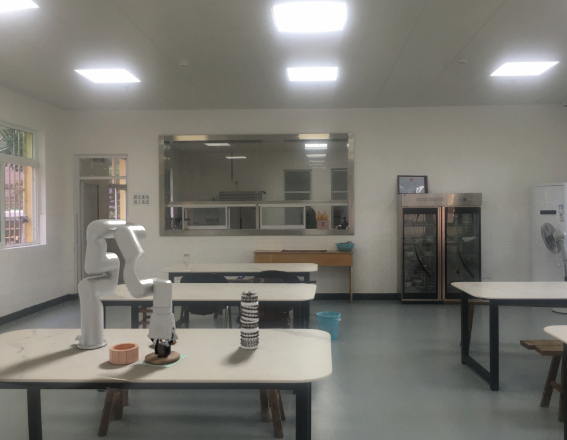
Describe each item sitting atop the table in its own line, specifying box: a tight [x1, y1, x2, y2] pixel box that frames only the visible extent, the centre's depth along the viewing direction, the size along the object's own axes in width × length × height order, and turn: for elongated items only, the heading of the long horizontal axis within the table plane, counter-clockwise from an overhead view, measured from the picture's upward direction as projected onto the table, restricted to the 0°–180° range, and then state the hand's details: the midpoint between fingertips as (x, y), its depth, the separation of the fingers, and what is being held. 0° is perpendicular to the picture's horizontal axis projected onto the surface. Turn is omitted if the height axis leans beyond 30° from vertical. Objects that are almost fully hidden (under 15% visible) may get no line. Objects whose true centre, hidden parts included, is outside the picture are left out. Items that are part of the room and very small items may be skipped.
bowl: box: [109, 342, 140, 366], centre depth 176 cm, size 11×11×6 cm
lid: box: [144, 342, 181, 364], centre depth 177 cm, size 14×14×6 cm
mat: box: [136, 354, 189, 368], centre depth 177 cm, size 15×15×1 cm
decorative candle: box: [238, 290, 260, 350], centre depth 195 cm, size 9×9×25 cm
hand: (162, 354), depth 177 cm, fingers closed on lid, 4 cm apart
